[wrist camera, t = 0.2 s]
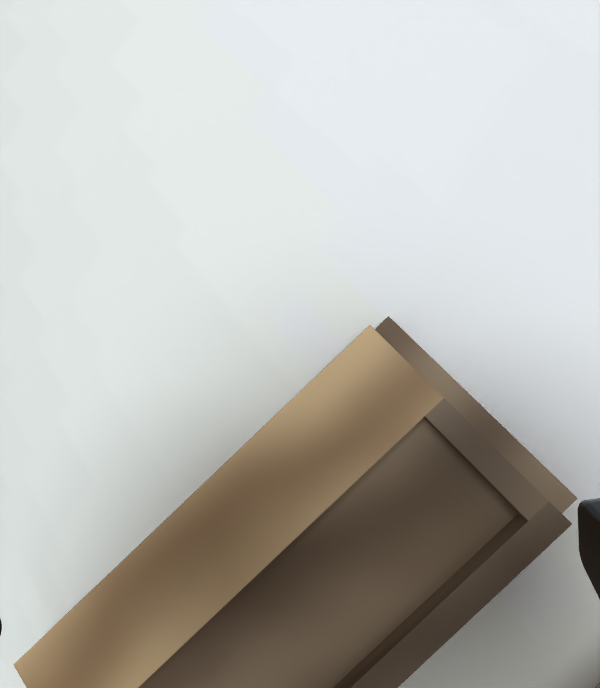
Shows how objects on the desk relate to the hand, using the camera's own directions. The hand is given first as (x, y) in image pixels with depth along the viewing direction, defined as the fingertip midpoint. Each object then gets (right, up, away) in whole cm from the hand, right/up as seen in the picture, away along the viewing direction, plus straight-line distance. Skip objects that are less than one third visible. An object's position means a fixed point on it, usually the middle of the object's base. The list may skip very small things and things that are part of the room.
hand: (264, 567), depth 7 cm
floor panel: (0, -7, +14) cm, 15 cm away
